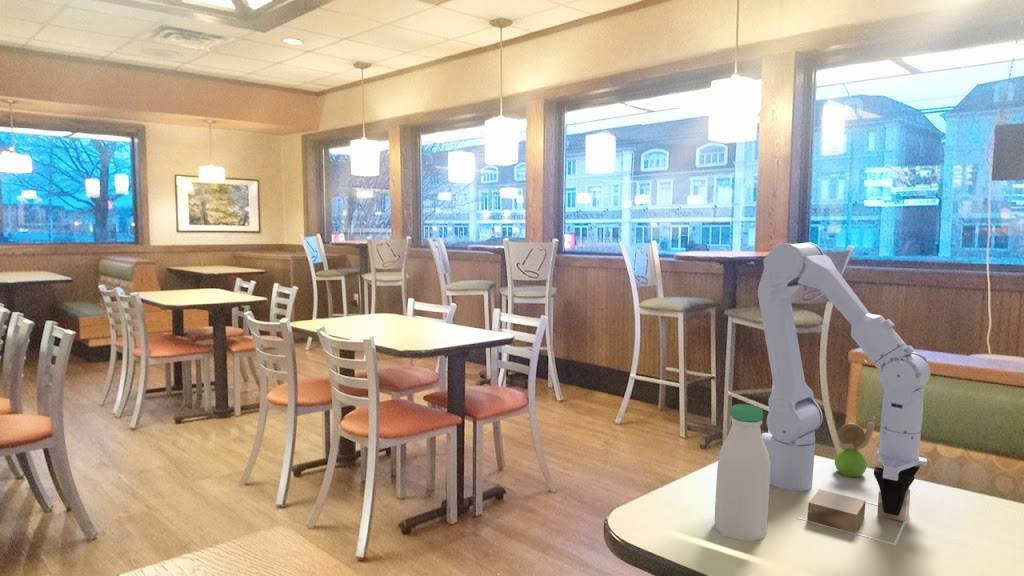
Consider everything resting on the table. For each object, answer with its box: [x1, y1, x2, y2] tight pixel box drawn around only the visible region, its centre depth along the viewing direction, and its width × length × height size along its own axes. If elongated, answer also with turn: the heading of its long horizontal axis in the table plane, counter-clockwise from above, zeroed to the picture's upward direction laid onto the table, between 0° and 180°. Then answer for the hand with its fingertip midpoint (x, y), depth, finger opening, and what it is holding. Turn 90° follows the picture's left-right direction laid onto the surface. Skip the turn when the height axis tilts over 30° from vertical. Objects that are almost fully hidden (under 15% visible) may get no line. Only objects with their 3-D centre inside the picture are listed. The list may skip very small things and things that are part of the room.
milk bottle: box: [714, 403, 771, 542], centre depth 106 cm, size 8×8×20 cm
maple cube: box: [876, 488, 911, 522], centre depth 113 cm, size 4×4×4 cm
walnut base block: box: [806, 489, 867, 534], centre depth 111 cm, size 7×7×3 cm
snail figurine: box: [834, 415, 877, 478], centre depth 130 cm, size 5×6×12 cm
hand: (893, 508), depth 113 cm, fingers closed on maple cube, 4 cm apart
